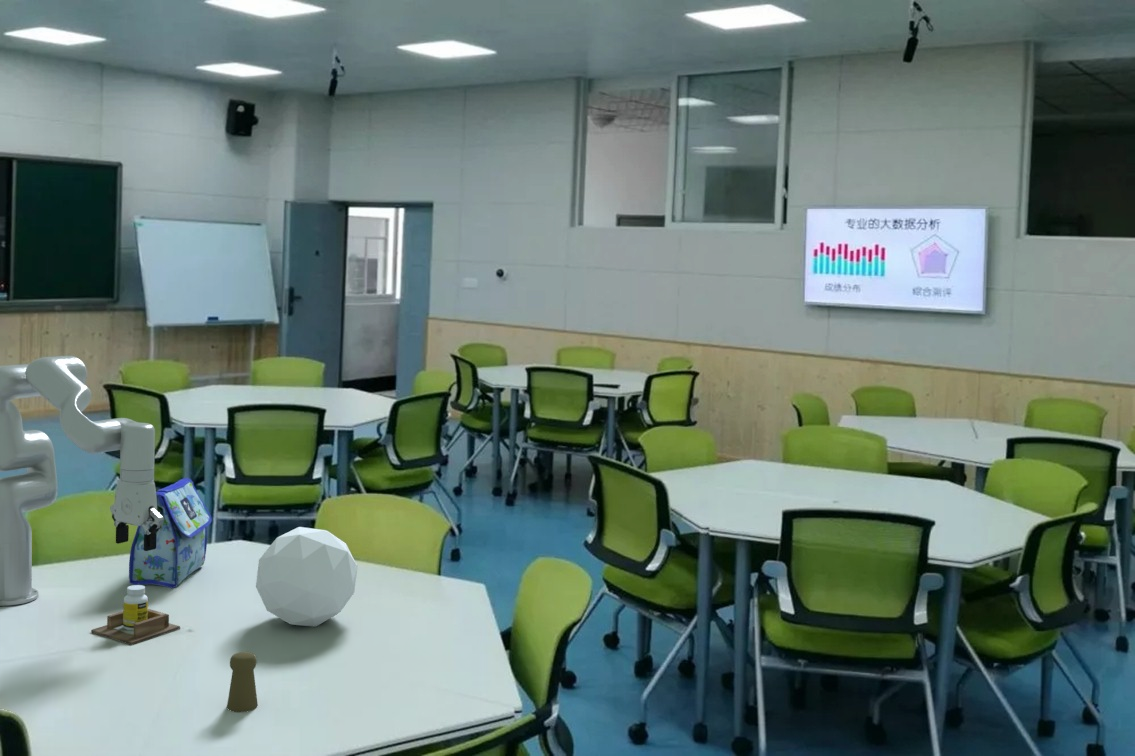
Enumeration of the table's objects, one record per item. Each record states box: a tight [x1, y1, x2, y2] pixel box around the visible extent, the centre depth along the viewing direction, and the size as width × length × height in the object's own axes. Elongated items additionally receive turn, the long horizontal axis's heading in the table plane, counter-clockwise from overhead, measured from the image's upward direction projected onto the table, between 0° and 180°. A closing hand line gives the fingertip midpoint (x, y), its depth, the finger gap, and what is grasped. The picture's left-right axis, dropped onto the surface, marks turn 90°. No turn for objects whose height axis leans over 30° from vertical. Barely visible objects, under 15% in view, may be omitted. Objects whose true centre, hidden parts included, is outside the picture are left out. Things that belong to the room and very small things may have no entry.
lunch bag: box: [128, 477, 213, 589], centre depth 304 cm, size 22×17×26 cm
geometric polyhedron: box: [255, 526, 358, 627], centre depth 273 cm, size 24×25×25 cm
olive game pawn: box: [226, 651, 259, 713], centre depth 222 cm, size 6×6×11 cm
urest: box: [90, 608, 181, 646], centre depth 262 cm, size 14×14×4 cm
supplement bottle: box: [122, 584, 149, 630], centre depth 261 cm, size 5×5×10 cm
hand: (135, 546), depth 260 cm, fingers open, 9 cm apart
